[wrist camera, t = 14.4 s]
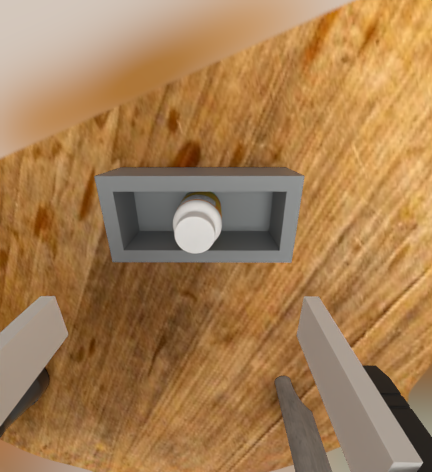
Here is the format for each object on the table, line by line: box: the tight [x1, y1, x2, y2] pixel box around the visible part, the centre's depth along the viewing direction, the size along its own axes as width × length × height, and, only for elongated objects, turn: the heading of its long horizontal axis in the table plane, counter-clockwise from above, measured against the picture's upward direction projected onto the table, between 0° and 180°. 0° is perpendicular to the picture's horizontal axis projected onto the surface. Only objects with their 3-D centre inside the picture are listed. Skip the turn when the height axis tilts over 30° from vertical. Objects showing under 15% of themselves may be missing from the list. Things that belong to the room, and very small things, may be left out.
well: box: [94, 167, 304, 262], centre depth 29 cm, size 22×10×7 cm, turn 90°
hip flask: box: [275, 376, 332, 472], centre depth 40 cm, size 16×4×20 cm, turn 30°
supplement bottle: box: [173, 192, 222, 254], centre depth 27 cm, size 5×5×10 cm
